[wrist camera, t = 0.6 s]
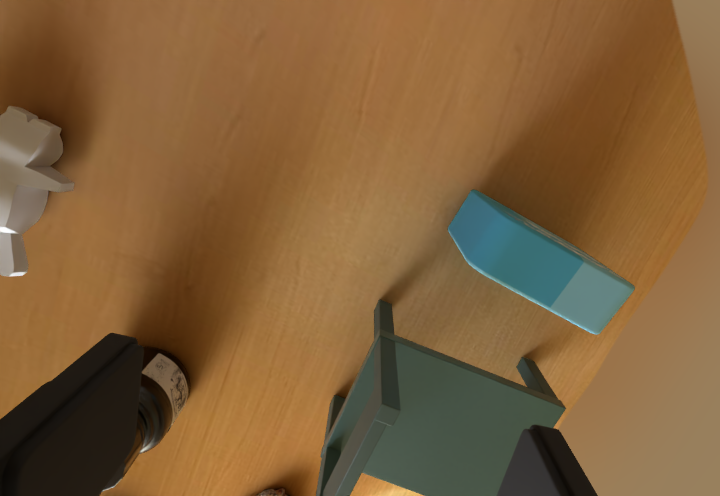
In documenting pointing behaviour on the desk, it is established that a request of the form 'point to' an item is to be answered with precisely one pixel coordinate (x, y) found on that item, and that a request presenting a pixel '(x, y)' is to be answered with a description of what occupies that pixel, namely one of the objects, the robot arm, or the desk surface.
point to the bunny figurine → (25, 181)
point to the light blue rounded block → (537, 263)
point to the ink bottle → (156, 403)
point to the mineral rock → (273, 492)
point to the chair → (429, 420)
